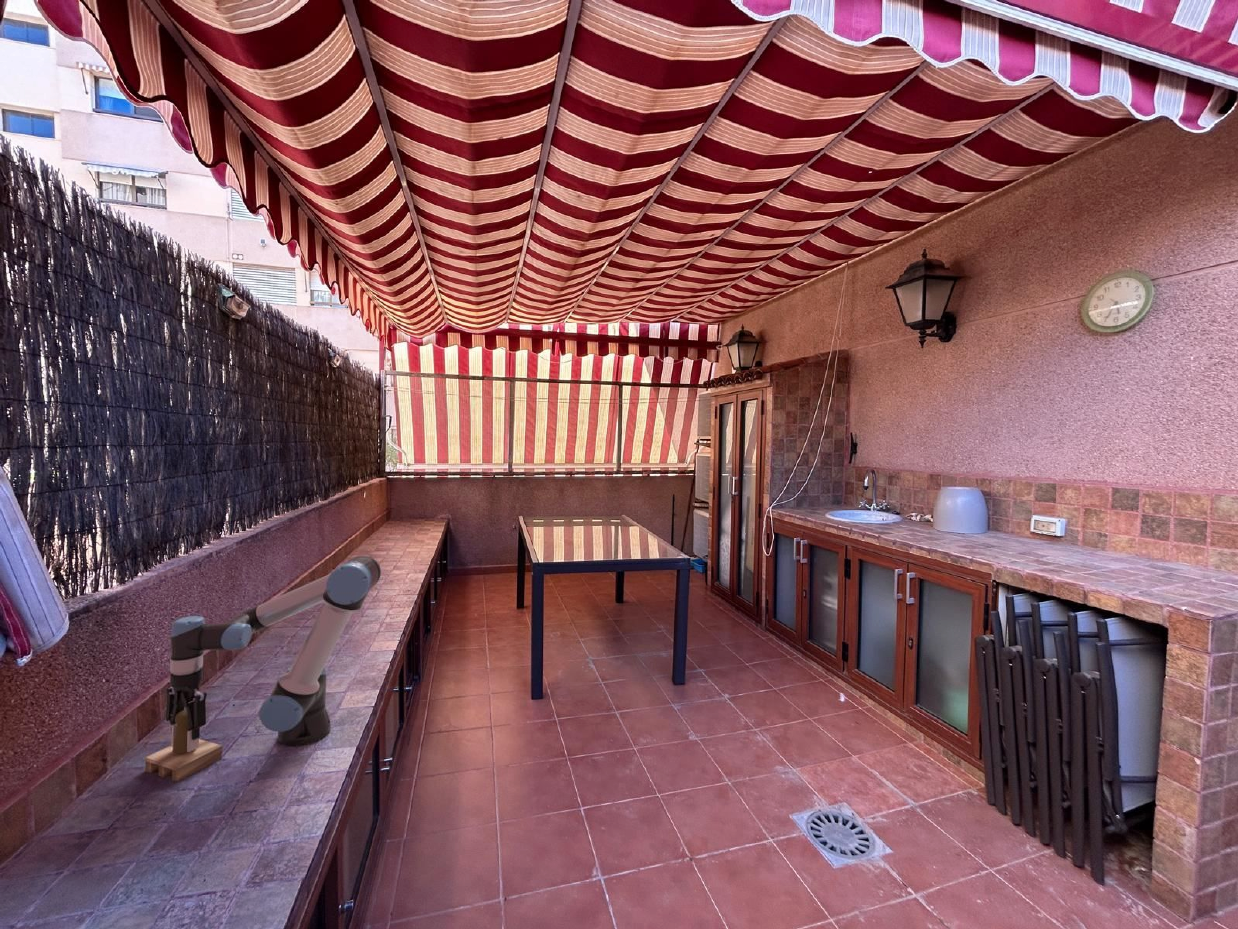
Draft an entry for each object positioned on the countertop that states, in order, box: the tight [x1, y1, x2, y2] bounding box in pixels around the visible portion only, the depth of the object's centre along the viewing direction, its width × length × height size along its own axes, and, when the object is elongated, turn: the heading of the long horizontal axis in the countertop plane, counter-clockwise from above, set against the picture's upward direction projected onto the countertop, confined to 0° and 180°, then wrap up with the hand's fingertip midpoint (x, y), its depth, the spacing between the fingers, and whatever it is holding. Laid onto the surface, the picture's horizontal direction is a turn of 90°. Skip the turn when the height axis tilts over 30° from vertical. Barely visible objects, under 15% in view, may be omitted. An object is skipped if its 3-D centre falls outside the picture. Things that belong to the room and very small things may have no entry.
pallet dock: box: [144, 738, 223, 782], centre depth 153 cm, size 14×12×4 cm
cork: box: [172, 709, 190, 754], centre depth 153 cm, size 6×6×11 cm
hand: (185, 747), depth 153 cm, fingers closed on cork, 6 cm apart
